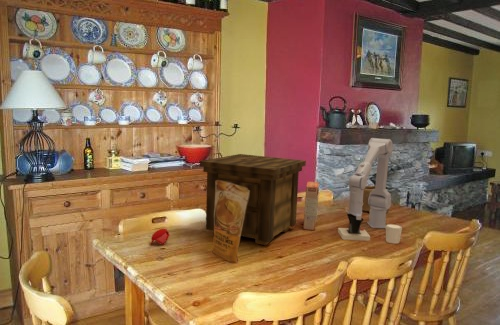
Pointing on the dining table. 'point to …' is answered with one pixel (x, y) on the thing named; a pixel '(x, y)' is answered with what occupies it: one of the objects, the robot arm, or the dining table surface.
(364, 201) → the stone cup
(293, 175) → the crate
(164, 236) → the cap
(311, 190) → the cracker box
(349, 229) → the plug
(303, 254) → the dining table surface
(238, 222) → the pancake mix bag
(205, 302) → the dining table surface
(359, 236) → the socket plate
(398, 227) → the shot glass
